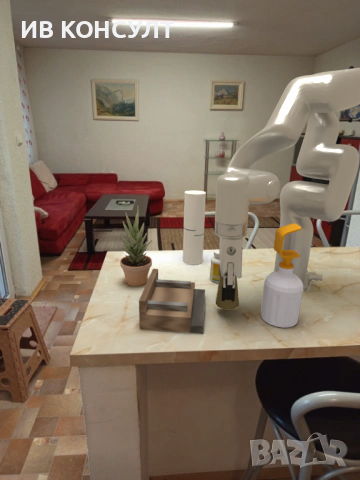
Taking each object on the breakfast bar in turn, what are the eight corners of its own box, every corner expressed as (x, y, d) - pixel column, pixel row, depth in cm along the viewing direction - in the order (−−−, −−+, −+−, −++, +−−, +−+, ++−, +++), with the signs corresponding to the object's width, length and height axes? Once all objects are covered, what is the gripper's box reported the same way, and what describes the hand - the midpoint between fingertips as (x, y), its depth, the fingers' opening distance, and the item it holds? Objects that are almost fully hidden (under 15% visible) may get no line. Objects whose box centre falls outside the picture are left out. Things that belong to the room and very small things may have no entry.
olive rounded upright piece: (238, 297, 84) (240, 259, 80) (240, 310, 78) (242, 270, 74) (215, 296, 84) (216, 259, 81) (215, 309, 79) (216, 269, 75)
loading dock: (204, 295, 90) (206, 271, 88) (203, 333, 74) (204, 305, 71) (153, 292, 92) (152, 268, 89) (139, 328, 75) (138, 300, 72)
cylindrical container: (184, 256, 118) (185, 190, 110) (203, 258, 117) (206, 190, 109) (181, 264, 112) (183, 193, 103) (201, 265, 111) (205, 194, 102)
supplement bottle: (206, 277, 102) (208, 249, 99) (220, 274, 104) (222, 247, 101) (215, 284, 97) (217, 255, 94) (230, 281, 99) (232, 253, 96)
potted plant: (128, 292, 92) (125, 208, 84) (116, 279, 99) (112, 202, 91) (158, 284, 97) (158, 205, 89) (145, 272, 104) (144, 198, 96)
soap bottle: (304, 327, 77) (321, 231, 69) (267, 329, 76) (280, 231, 68) (288, 308, 85) (302, 220, 77) (255, 309, 84) (266, 220, 76)
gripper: (251, 240, 66) (245, 315, 73) (243, 217, 82) (239, 281, 88) (215, 239, 67) (212, 313, 73) (214, 217, 82) (212, 280, 89)
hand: (227, 295), depth 81 cm, fingers closed on olive rounded upright piece, 4 cm apart
